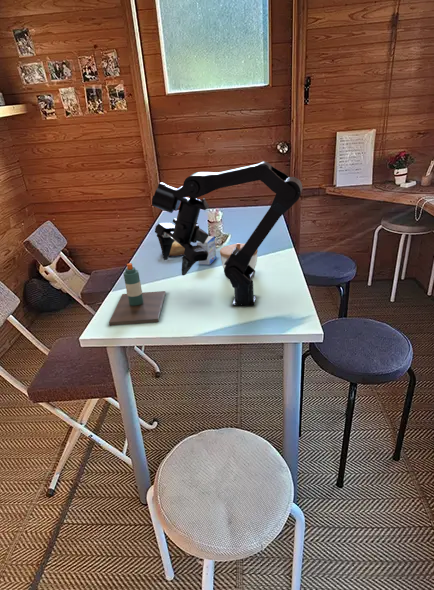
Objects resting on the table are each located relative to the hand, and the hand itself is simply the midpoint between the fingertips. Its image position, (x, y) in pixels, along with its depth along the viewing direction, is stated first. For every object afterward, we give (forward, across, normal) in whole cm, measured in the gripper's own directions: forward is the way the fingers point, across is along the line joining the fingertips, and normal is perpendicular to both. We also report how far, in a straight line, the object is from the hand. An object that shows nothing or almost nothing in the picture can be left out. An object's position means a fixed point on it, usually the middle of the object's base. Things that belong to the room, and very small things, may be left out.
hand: (174, 267), depth 131 cm
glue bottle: (+13, +3, +9) cm, 16 cm away
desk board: (+14, 0, +9) cm, 16 cm away
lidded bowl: (+4, -3, -28) cm, 29 cm away
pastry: (+16, +33, -31) cm, 48 cm away
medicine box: (+10, +16, -31) cm, 36 cm away
